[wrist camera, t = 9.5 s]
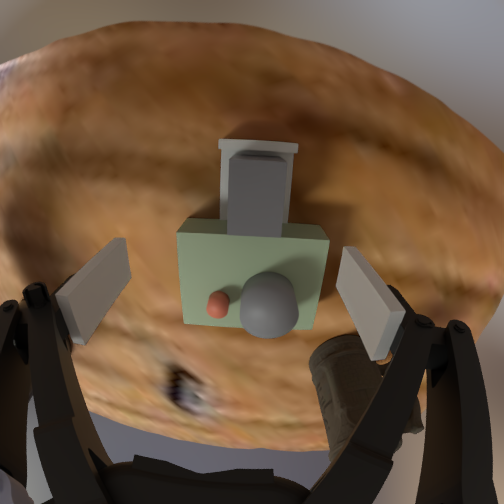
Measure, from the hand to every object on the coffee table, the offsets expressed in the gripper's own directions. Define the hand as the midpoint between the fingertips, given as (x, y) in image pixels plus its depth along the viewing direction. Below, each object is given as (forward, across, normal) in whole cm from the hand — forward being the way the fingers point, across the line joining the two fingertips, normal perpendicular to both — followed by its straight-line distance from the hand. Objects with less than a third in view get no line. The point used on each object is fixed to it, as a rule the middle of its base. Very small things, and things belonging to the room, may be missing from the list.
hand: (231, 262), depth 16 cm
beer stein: (+17, +19, -25) cm, 36 cm away
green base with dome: (+17, +2, -4) cm, 17 cm away
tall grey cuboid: (+17, +2, +2) cm, 17 cm away
